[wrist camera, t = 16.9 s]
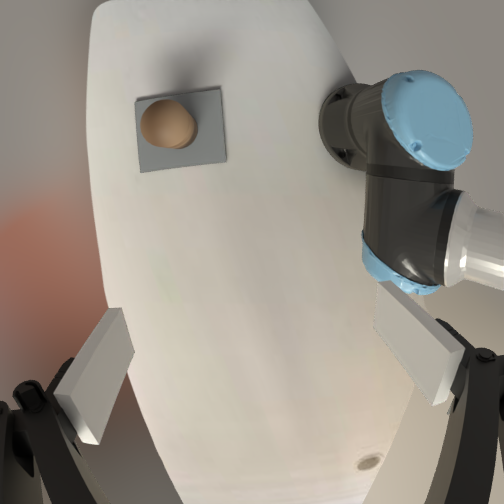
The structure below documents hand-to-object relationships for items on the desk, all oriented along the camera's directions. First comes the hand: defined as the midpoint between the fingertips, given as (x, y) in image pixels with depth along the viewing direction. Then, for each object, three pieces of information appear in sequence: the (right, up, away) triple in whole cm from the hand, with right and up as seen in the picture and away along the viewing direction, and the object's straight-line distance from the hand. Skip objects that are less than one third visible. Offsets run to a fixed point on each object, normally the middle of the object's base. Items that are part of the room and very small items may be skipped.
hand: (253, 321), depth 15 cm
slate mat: (-12, +23, +31) cm, 40 cm away
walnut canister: (-11, +22, +30) cm, 39 cm away
